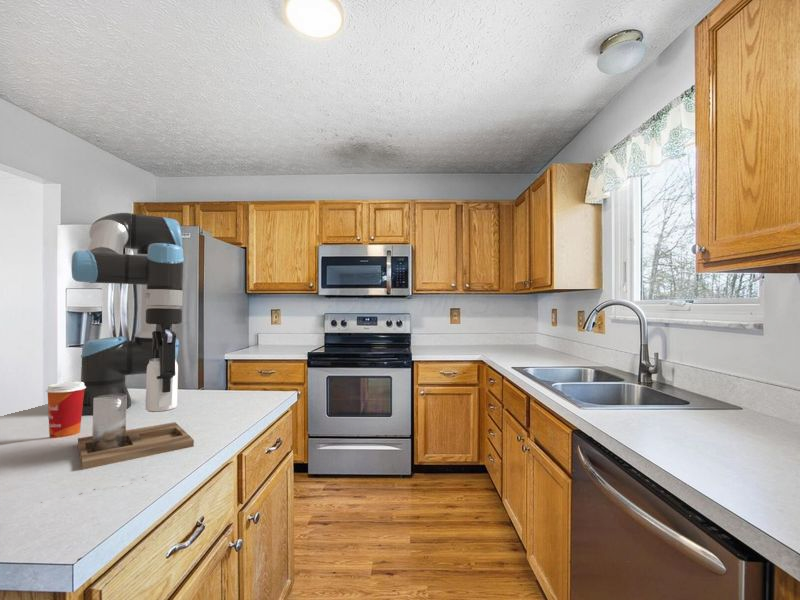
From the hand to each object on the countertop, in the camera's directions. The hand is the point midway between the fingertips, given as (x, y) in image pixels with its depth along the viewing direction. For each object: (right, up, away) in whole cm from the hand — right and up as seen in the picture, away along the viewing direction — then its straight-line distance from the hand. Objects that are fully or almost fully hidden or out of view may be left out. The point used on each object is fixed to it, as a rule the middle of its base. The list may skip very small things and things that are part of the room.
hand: (161, 402), depth 93 cm
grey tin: (-8, -9, -7) cm, 14 cm away
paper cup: (-27, -11, +4) cm, 29 cm away
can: (0, -2, 0) cm, 2 cm away
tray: (-4, -11, -3) cm, 12 cm away
